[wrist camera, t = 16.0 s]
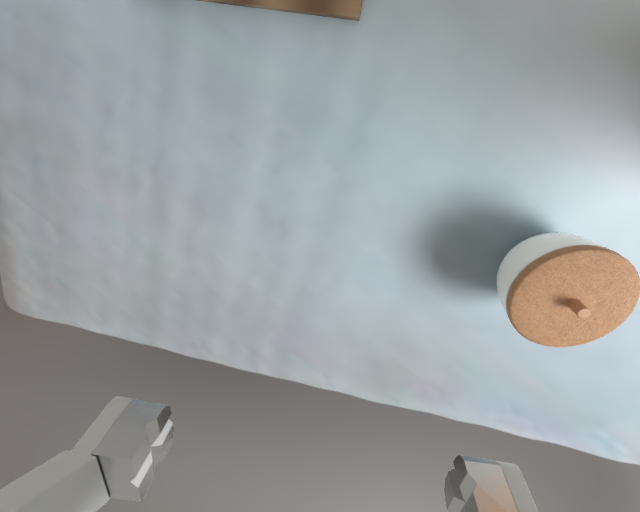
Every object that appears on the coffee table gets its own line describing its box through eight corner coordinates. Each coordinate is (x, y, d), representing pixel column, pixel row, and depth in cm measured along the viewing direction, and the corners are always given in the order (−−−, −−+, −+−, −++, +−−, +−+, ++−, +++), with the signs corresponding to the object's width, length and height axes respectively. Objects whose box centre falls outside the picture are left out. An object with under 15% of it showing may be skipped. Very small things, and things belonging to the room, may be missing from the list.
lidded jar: (517, 317, 41) (558, 377, 32) (462, 261, 38) (492, 310, 30) (607, 264, 36) (680, 317, 28) (553, 196, 34) (616, 232, 26)
